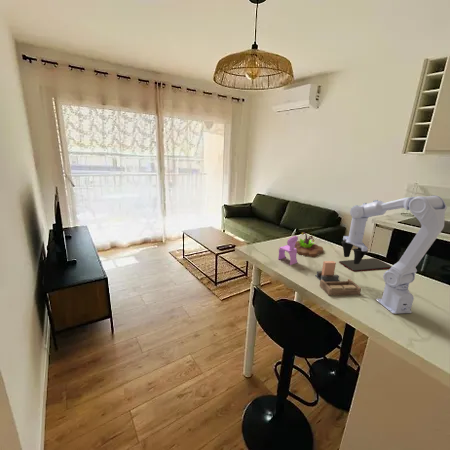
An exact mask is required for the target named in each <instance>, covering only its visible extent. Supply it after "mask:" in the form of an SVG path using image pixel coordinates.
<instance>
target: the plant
mask: <svg viewBox="0 0 450 450" xmlns="http://www.w3.org/2000/svg"><path fill="white" fill-rule="evenodd" d="M301 235H303V236H304V235H305V236H304V237H305V238H304V239H302V238H299V240H297V242H296V244H295V248H296V249H297V253H298V254H297V255H300V256H302V255H303V257H305V256H306V257H310V258H315V257H318V256H319V255H320V254H323V253H324V248H323V246H320V245H317V243H315V238H314V236H313V235H309V236H308V235H307V233H306V232H301ZM288 246H289V245H288Z"/></svg>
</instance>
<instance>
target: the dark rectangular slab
mask: <svg viewBox="0 0 450 450" xmlns="http://www.w3.org/2000/svg"><path fill="white" fill-rule="evenodd" d="M338 263H339V264H340V265H342V266H343V267H345V268H346V269H348V270H349V271H351V272H354V273H357V272H367V271H379V270H380V271H381V270H389V269H390V268H391V267H392V266H393V265H391V264H388V263H386V262H384V261H383V260H381V259H378V258H375V257H372V258H362V259H361V261H360V263H359V264H354V259H349V260H347V259H346V260H339V261H338Z"/></svg>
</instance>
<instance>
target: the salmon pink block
mask: <svg viewBox="0 0 450 450" xmlns="http://www.w3.org/2000/svg"><path fill="white" fill-rule="evenodd" d="M336 265H337V264H336V261H334V260H323V263H322V269H321V271H322V274H321V275H335V270H336Z"/></svg>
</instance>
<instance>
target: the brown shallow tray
mask: <svg viewBox="0 0 450 450" xmlns="http://www.w3.org/2000/svg"><path fill="white" fill-rule="evenodd" d="M330 285H340V286H342V285H354V286H355V287H356V289H354V290H332V289H331V288H330V287H329V286H330ZM319 287H320V288H321V289H322V290H323V291H324V293H326V295H327V296H356V295H357V296H358V295H361V291H362V288H361V286H359V285H358V284H357V283H355V281H353V280H352V279H350V278H348V279H347V280H343V281H336V282H324V281H323V280H319Z"/></svg>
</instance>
